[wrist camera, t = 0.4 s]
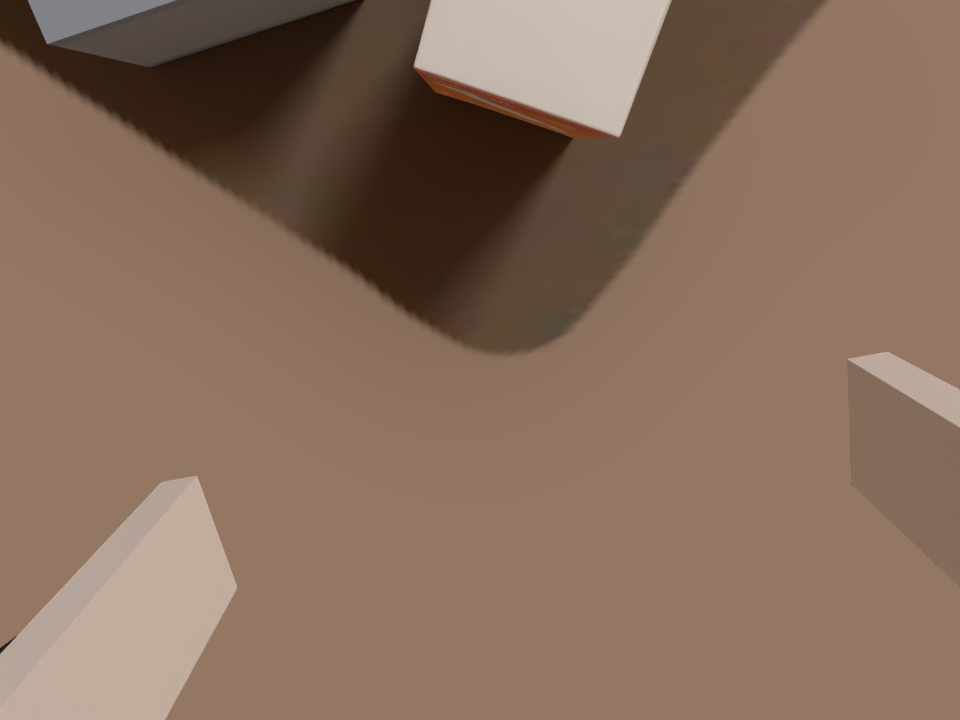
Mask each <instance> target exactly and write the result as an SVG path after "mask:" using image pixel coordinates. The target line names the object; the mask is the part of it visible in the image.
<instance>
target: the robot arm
mask: <svg viewBox="0 0 960 720" xmlns="http://www.w3.org/2000/svg"><path fill="white" fill-rule="evenodd" d="M847 368H848V369H847V370H848V401H849V430H850V431H849V432H850V463H851V485H852V486H853V487H854V488H855V489H857V491H858V492H859V493H861V494H862V495H863V496H864V497H865V498H866V499H867V500H868V501H869V502H870V503H871V504H872V505H873V506H874V507H875V508H876V509H878V510H879V511H880V512H881V513H882V514H883V515H884V516H885V517H886V518H887V519H888V520H889V521H890V522H891V523H892V524H893V525H895V526H896V527H897V528H898V529H899V530H900V531H901V532H902V533H903V534H904V535H905V536H906V537H907V538H908V539H910V541H911V542H913V543H914V544H915V545H916V546H917V547H918V548H919V549H920V550H921V551H922V552H923V553H924V554H925V555H926V556H928V557H929V558H930V559H931V560H932V561H933V562H934V563H935V564H936V565H937V566H938V567H939V568H940V569H941V570H942V571H943V572H945V573H946V574H947V575H948V576H949V577H950V578H951V579H952V580H953V581H954V582H955V583H956V584H957V585H958V586H959V587H960V390H959V389H957V388H955V387H953V386H951V385H949V384H948V383H945V382H944V381H942V380H940V379H938V378H936V377H934V376H932V375H931V374H929V373H927V372H925V371H923V370H921V369H919V368H917V367H915V366H914V365H912V364H910V363H908V362H906V361H904V360H902V359H900V358H898V357H896V356H895V355H893V354H891V353H889V352H884V353H878V354H873V355H867V356H862V357H856V358H851V359H847ZM236 589H237V585H236V583H235V580H234V577H233V574H232V572H231V569H230V566H229V563H228V561H227V558H226V555H225V552H224V550H223V547H222V544H221V541H220V538H219V536H218V533H217V530H216V528H215V525H214V522H213V519H212V516H211V513H210V511H209V508H208V505H207V502H206V500H205V497H204V494H203V491H202V489H201V486H200V483H199V480H198V477H197V476H193V477H188V478H182V479H177V480H170V481H165V482H161V483H160V484H159V485H158V486H157V488H155V490H154V491H153V492H152V493H151V494H150V495H149V496H148V497H147V498H146V499H145V500H144V501H143V502H142V503H141V504H140V506H139V507H138V508H137V509H136V510H135V511H134V512H133V513H132V514H131V515H130V516H129V517H128V518H127V519H126V521H125V522H124V523H123V524H122V525H121V526H120V527H119V528H118V529H117V530H116V531H115V532H114V533H113V534H112V536H110V537H109V539H108V540H107V541H106V542H105V543H104V544H103V545H102V546H101V547H100V548H99V549H98V550H97V551H96V552H95V554H94V555H93V556H92V557H91V558H90V559H89V560H88V561H87V562H86V563H85V564H84V565H83V566H82V567H81V568H80V570H79V571H78V572H77V573H76V574H75V575H74V576H73V577H72V578H71V579H70V580H69V581H68V582H67V583H66V585H64V587H63V588H62V589H61V590H60V591H59V592H58V593H57V594H56V595H55V596H54V597H53V598H52V599H51V600H50V602H49V603H48V604H47V605H46V606H45V607H44V608H43V609H42V610H41V611H40V612H39V613H38V614H37V615H36V616H35V617H34V619H33V620H32V621H31V622H30V623H29V624H28V625H27V626H26V627H25V628H24V629H23V630H22V631H21V632H20V633H19V635H18V636H16V637H15V638H13V639H12V640H10V641H9V642H8V643H6V644H5V645H4V646H2V647H1V648H0V720H165V719H166V717H167V715H168V713H169V712H170V710H171V708H172V706H173V704H174V702H175V701H176V699H177V697H178V695H179V693H180V691H181V690H182V688H183V686H184V684H185V682H186V680H187V679H188V677H189V675H190V673H191V671H192V670H193V668H194V666H195V664H196V662H197V660H198V659H199V657H200V655H201V653H202V651H203V649H204V648H205V646H206V644H207V642H208V640H209V638H210V637H211V635H212V633H213V631H214V629H215V627H216V626H217V624H218V622H219V620H220V618H221V616H222V615H223V613H224V611H225V609H226V607H227V606H228V604H229V602H230V600H231V598H232V596H233V595H234V593H235V591H236Z"/></svg>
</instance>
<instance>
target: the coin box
mask: <svg viewBox="0 0 960 720" xmlns="http://www.w3.org/2000/svg"><path fill="white" fill-rule="evenodd" d="M352 1H355V0H28V2H29V4H30V6H31V9H32V11H33V13H34V16H35V18H36V20H37V22H38V25H39V27H40V29H41V31H42V34H43V36H44V38H45V41H46V43H47V44H49V45H53V46H58V47H62V48H67V49H71V50H75V51H80V52H84V53H89V54H93V55H97V56H102V57H106V58H110V59H115V60H119V61H124V62H128V63H132V64H137V65H141V66H146V67H150V68H152V67H155V66H158V65H161V64H164V63H167V62H170V61H173V60H176V59H179V58H182V57H185V56H189V55H192V54H195V53H198V52H201V51H204V50H207V49H210V48H213V47H216V46H219V45H222V44H225V43H228V42H231V41H234V40H237V39H240V38H243V37H246V36H249V35H252V34H255V33H258V32H261V31H264V30H267V29H270V28H273V27H276V26H279V25H282V24H285V23H288V22H291V21H295V20H298V19H301V18H304V17H307V16H310V15H313V14H316V13H319V12H322V11H325V10H328V9H331V8H334V7H337V6H340V5H343V4H346V3H349V2H352Z"/></svg>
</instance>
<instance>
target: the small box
mask: <svg viewBox="0 0 960 720" xmlns="http://www.w3.org/2000/svg"><path fill="white" fill-rule="evenodd" d="M670 3H671V0H431V1H430V5H429V9H428V13H427V17H426V21H425V25H424V29H423V33H422V37H421V41H420V45H419V48H418V52H417V56H416V59H415V63H414V69H415V70H416V71H417V72H418V73H419V74H420V76H421V77H422V78H423V79H424V80H425V81H426V82H427V83H428V85H429V86H430V87H431V88H432V89H433V91H435V92H436V93H438V94H442V95H445V96H449V97H453V98H456V99H459V100H462V101H465V102H469V103H472V104H475V105H478V106H481V107H484V108H487V109H490V110H493V111H496V112H499V113H502V114H505V115H508V116H511V117H514V118H517V119H520V120H523V121H525V122H528V123H531V124H534V125H537V126H540V127H543V128H546V129H549V130H552V131H555V132H557V133H560V134H563V135H566V136H568V137H571V138H619V137H620V135H621V133H622V130H623V128H624V125H625V122H626V120H627V117H628V114H629V112H630V109H631V106H632V104H633V101H634V98H635V96H636V93H637V90H638V88H639V85H640V82H641V80H642V77H643V74H644V72H645V69H646V66H647V64H648V61H649V59H650V56H651V53H652V51H653V48H654V45H655V43H656V40H657V37H658V35H659V32H660V29H661V27H662V24H663V21H664V19H665V16H666V14H667V11H668V8H669V6H670Z"/></svg>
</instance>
